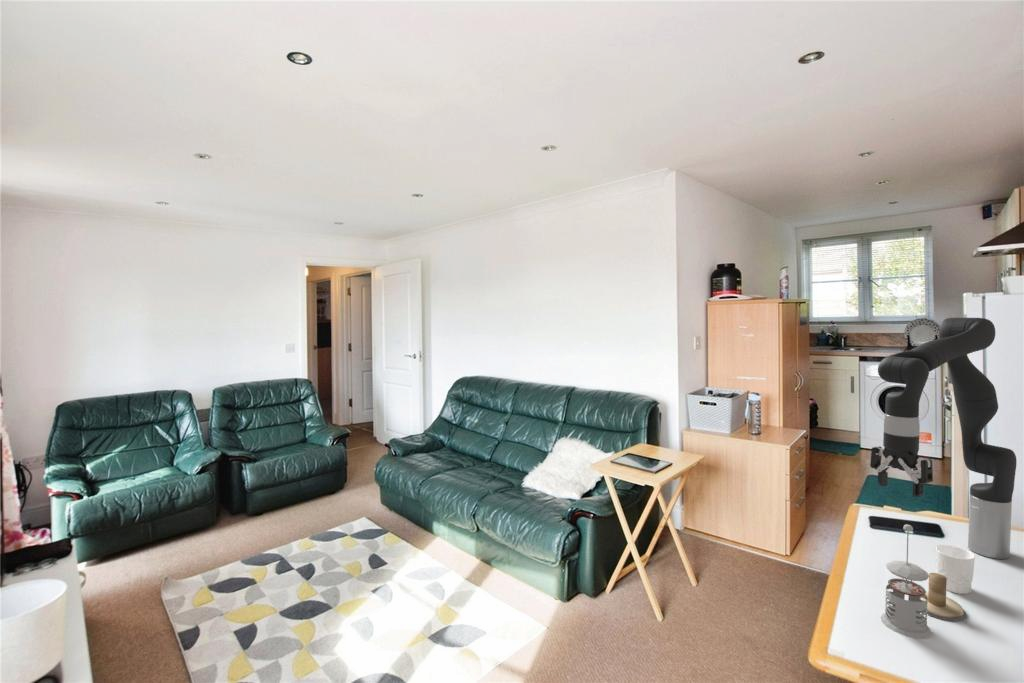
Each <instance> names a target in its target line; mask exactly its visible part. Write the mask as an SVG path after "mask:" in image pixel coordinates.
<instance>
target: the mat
mask: <svg viewBox="0 0 1024 683" xmlns="http://www.w3.org/2000/svg"><path fill="white" fill-rule="evenodd" d="M963 610H964V611H963V616H962V617H959V618H946V617H941V616H937V615H934V614H931V613H929V612H926V613H927V614H928V615H927V616H930V617H932V616H933V618H935V619H940V620H944V621H949V622H958V621H960V622H961V621H963V620H965V619H966V617H967V612H966V611H965V609H964V608H963ZM923 611H924V610H923ZM924 612H925V611H924Z"/></svg>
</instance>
